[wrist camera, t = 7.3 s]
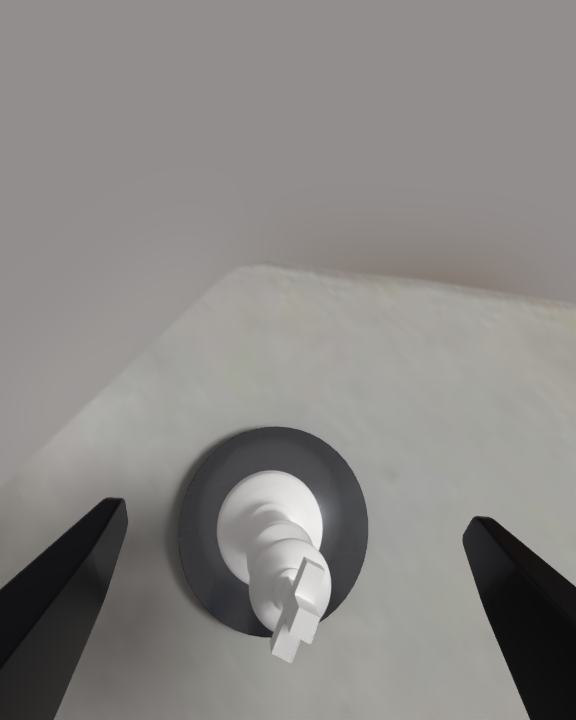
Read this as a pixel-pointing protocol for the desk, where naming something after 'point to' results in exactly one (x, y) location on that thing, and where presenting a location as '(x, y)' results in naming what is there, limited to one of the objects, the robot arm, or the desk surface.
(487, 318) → the desk surface
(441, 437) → the desk surface
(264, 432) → the carrier plate
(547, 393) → the desk surface
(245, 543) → the chess piece
